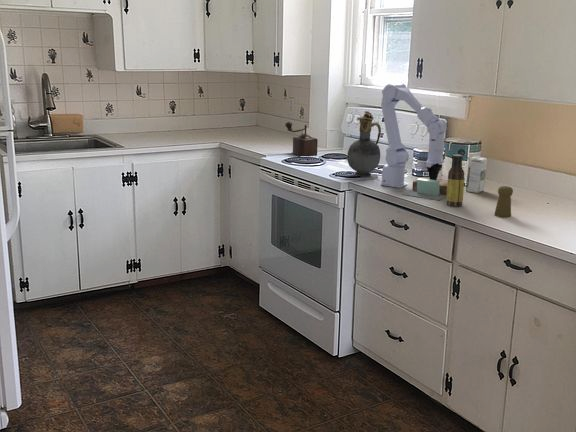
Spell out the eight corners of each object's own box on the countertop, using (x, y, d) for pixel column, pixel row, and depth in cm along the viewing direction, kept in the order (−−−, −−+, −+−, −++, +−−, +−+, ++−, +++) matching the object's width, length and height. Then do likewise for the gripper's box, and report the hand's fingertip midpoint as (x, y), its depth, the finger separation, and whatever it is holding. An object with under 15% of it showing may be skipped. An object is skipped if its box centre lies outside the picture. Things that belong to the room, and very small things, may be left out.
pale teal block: (419, 190, 269) (417, 192, 268) (418, 177, 267) (416, 179, 265) (439, 193, 265) (437, 195, 263) (439, 180, 262) (437, 182, 261)
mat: (402, 194, 265) (402, 194, 265) (410, 190, 273) (410, 190, 272) (438, 200, 257) (438, 199, 257) (446, 196, 264) (446, 195, 264)
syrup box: (471, 189, 278) (474, 156, 274) (484, 191, 274) (487, 157, 270) (465, 191, 274) (468, 157, 270) (478, 193, 270) (482, 159, 266)
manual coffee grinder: (307, 152, 360) (308, 120, 355) (317, 155, 351) (318, 122, 346) (283, 154, 353) (283, 121, 348) (292, 157, 344) (293, 124, 339)
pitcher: (343, 175, 300) (345, 111, 292) (369, 170, 313) (372, 109, 305) (360, 179, 293) (364, 113, 285) (386, 174, 305) (390, 111, 297)
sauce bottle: (458, 202, 254) (462, 153, 248) (465, 206, 248) (470, 156, 242) (442, 203, 252) (447, 153, 247) (449, 207, 246) (454, 156, 241)
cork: (491, 215, 236) (494, 186, 233) (499, 212, 240) (502, 184, 237) (506, 218, 232) (509, 189, 229) (514, 215, 236) (517, 186, 233)
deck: (412, 190, 273) (412, 181, 272) (422, 185, 282) (423, 176, 281) (446, 195, 265) (446, 186, 264) (455, 190, 274) (456, 181, 273)
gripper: (438, 152, 258) (435, 185, 261) (450, 148, 269) (448, 179, 273) (421, 151, 261) (419, 183, 265) (434, 146, 273) (432, 177, 277)
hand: (432, 181), depth 269 cm, fingers closed
